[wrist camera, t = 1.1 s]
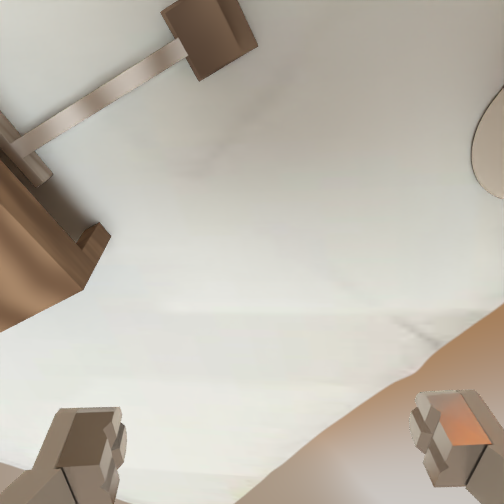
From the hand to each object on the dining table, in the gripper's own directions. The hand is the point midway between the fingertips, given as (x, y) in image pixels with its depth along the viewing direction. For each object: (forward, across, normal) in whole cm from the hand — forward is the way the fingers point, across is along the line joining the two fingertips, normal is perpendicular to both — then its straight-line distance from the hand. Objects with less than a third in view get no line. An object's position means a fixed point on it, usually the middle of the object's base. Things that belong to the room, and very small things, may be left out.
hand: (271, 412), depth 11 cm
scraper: (+32, +10, -4) cm, 34 cm away
